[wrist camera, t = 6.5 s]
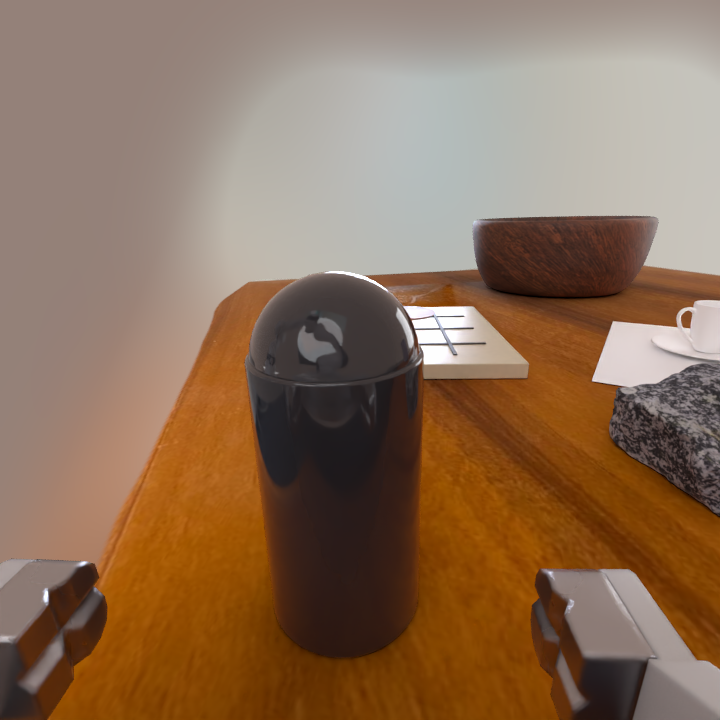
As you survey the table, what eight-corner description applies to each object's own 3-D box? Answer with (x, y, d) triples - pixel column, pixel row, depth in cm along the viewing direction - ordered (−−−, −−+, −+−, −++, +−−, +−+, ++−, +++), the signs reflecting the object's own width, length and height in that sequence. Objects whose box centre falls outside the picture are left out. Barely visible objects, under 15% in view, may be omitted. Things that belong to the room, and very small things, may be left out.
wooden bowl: (516, 272, 84) (521, 216, 81) (666, 284, 67) (680, 215, 64) (438, 289, 68) (440, 221, 65) (608, 311, 51) (623, 220, 48)
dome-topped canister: (256, 657, 12) (202, 290, 9) (289, 537, 17) (263, 263, 13) (425, 661, 12) (437, 285, 9) (413, 538, 17) (417, 260, 13)
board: (260, 380, 33) (258, 364, 32) (304, 318, 52) (303, 307, 51) (527, 378, 32) (529, 361, 31) (472, 316, 51) (473, 304, 50)
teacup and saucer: (772, 346, 37) (786, 299, 36) (796, 376, 31) (814, 320, 29) (650, 334, 42) (659, 292, 40) (650, 357, 35) (659, 308, 34)
